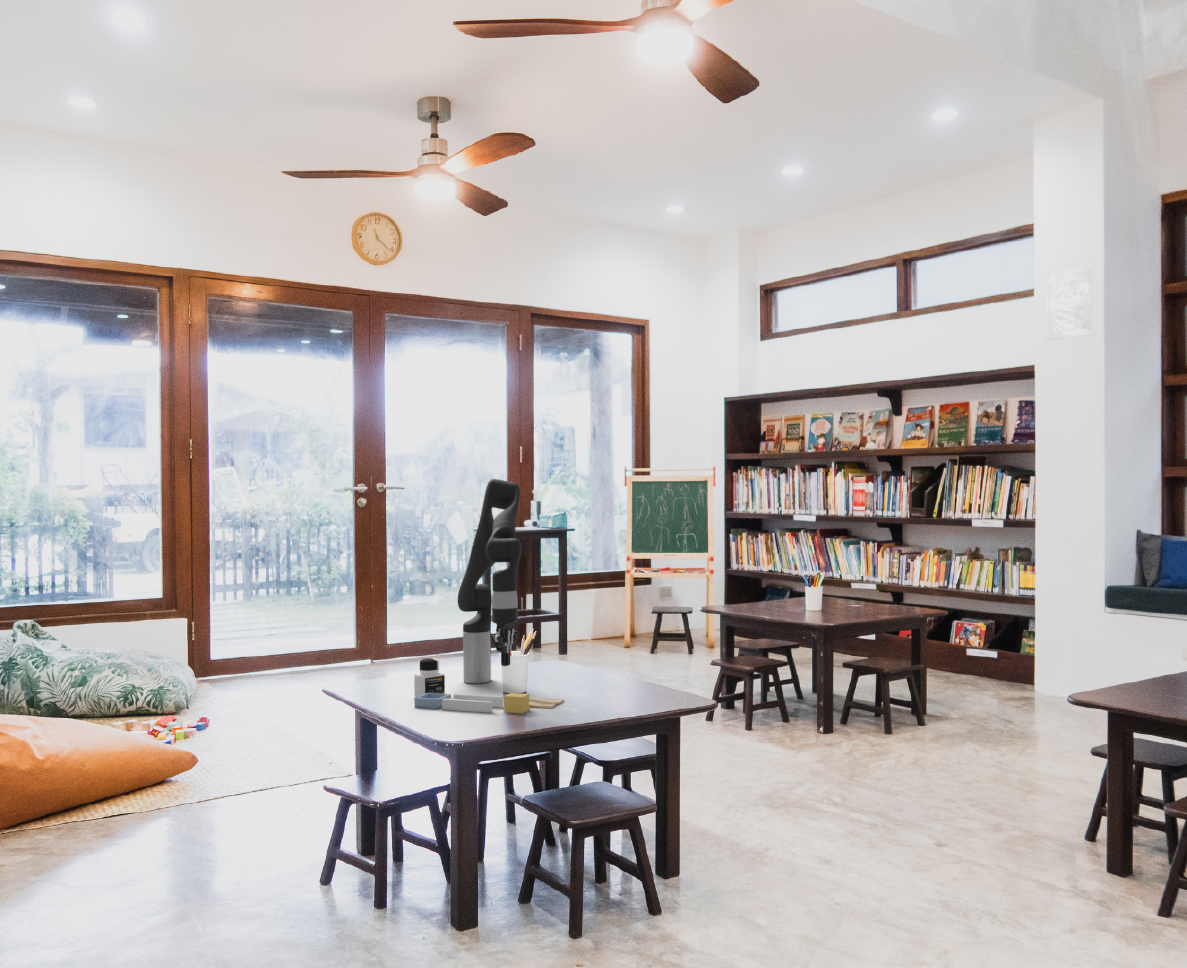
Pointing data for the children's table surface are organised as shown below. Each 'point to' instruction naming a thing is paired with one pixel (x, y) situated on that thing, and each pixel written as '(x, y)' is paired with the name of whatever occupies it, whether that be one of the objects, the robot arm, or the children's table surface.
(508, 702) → the ochre block
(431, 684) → the medicine bottle
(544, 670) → the children's table surface
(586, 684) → the children's table surface
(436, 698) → the bin
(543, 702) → the cork pad
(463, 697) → the frosted channel
